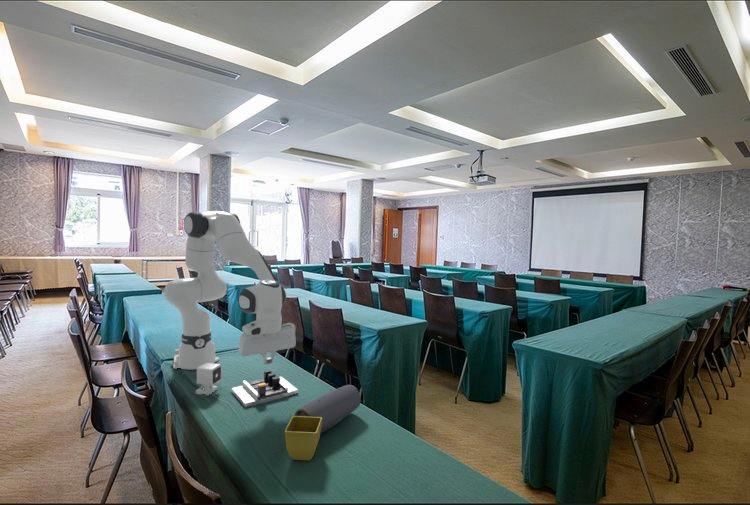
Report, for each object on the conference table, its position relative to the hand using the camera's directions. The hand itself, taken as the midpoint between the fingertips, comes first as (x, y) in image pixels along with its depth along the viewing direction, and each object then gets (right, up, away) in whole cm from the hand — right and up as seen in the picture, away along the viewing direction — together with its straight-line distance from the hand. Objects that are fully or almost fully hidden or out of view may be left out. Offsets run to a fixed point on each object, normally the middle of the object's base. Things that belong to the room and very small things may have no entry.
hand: (268, 363), depth 137 cm
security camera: (-24, -13, +6) cm, 28 cm away
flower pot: (+19, -16, -32) cm, 40 cm away
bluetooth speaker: (+24, -16, -15) cm, 32 cm away
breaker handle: (-2, -11, -1) cm, 11 cm away
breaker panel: (-3, -13, +6) cm, 15 cm away
